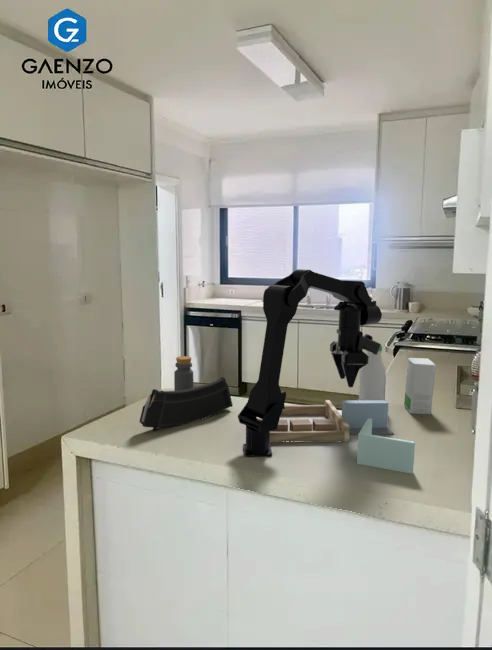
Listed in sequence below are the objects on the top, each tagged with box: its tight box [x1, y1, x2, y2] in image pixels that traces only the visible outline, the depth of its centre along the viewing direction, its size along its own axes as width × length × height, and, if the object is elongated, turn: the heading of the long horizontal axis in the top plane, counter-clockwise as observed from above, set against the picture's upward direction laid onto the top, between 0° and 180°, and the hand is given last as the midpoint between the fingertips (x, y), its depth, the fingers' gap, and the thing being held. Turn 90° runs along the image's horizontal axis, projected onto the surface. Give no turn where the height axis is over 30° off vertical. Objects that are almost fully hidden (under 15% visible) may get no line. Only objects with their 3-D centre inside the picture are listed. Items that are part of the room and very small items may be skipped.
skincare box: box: [403, 357, 437, 415], centre depth 147 cm, size 8×7×16 cm
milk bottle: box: [358, 344, 387, 400], centre depth 148 cm, size 8×8×20 cm
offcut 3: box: [312, 418, 336, 431], centre depth 125 cm, size 4×5×4 cm
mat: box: [349, 426, 395, 436], centre depth 132 cm, size 10×13×1 cm
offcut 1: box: [272, 418, 289, 431], centre depth 125 cm, size 4×5×4 cm
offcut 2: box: [288, 418, 313, 431], centre depth 125 cm, size 4×5×4 cm
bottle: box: [173, 355, 194, 391], centre depth 150 cm, size 6×6×15 cm
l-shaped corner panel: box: [356, 418, 416, 474], centre depth 112 cm, size 12×12×8 cm
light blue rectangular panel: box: [341, 399, 389, 428], centre depth 131 cm, size 2×12×7 cm, turn 93°
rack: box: [256, 399, 350, 443], centre depth 132 cm, size 22×23×4 cm
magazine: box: [139, 376, 233, 432], centre depth 136 cm, size 17×3×30 cm
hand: (346, 382), depth 133 cm, fingers open, 9 cm apart
